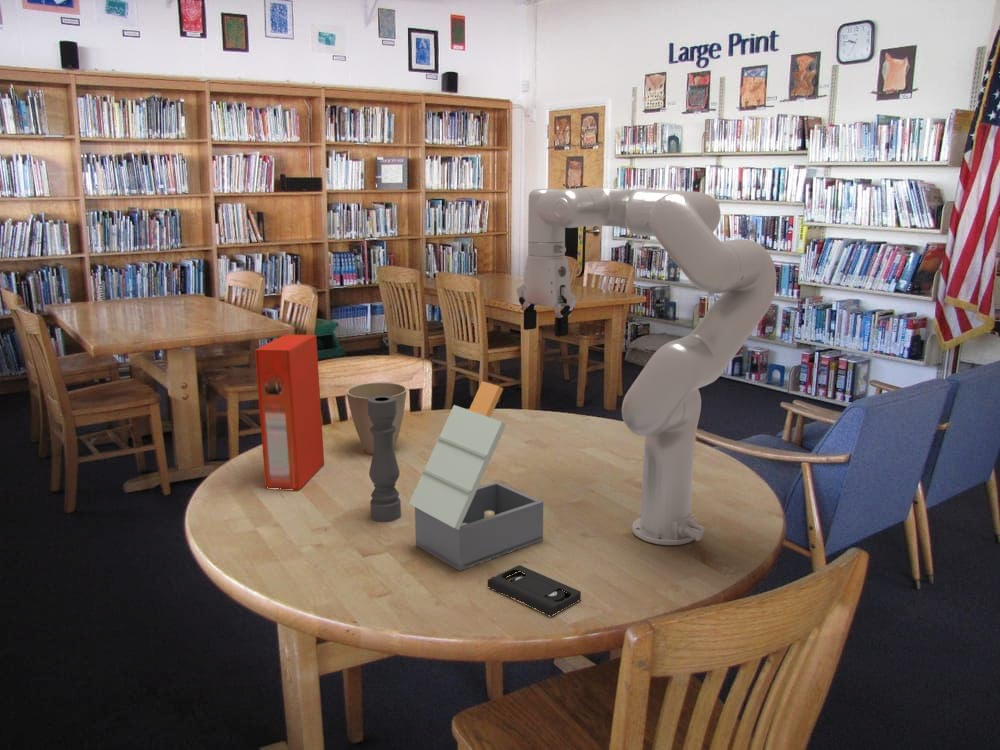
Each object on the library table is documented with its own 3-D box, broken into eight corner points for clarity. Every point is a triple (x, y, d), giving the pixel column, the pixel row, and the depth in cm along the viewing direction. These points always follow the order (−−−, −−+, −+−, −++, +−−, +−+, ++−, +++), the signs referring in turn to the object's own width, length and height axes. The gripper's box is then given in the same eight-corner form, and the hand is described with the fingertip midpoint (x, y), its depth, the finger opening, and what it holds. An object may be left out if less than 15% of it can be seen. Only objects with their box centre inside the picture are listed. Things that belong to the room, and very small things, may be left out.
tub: (542, 540, 164) (543, 501, 162) (459, 571, 151) (459, 529, 150) (497, 518, 174) (496, 481, 172) (415, 544, 162) (414, 505, 160)
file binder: (264, 489, 190) (254, 349, 182) (292, 463, 207) (284, 334, 199) (299, 491, 189) (290, 350, 181) (324, 464, 206) (317, 335, 198)
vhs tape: (581, 602, 142) (581, 591, 141) (550, 620, 136) (550, 608, 136) (519, 574, 151) (519, 564, 151) (487, 590, 146) (487, 579, 145)
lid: (520, 393, 153) (514, 390, 152) (459, 529, 149) (453, 527, 148) (471, 378, 163) (465, 375, 162) (413, 505, 160) (407, 503, 159)
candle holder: (405, 511, 178) (402, 396, 172) (394, 523, 172) (390, 404, 166) (378, 508, 179) (373, 394, 173) (365, 520, 173) (361, 402, 167)
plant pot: (355, 440, 224) (353, 382, 220) (412, 441, 223) (410, 382, 219) (343, 459, 209) (340, 397, 205) (403, 460, 209) (401, 397, 205)
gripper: (589, 252, 170) (587, 336, 174) (532, 246, 183) (531, 324, 187) (562, 254, 165) (560, 341, 169) (505, 248, 178) (505, 328, 182)
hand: (545, 332), depth 178 cm, fingers open, 9 cm apart
